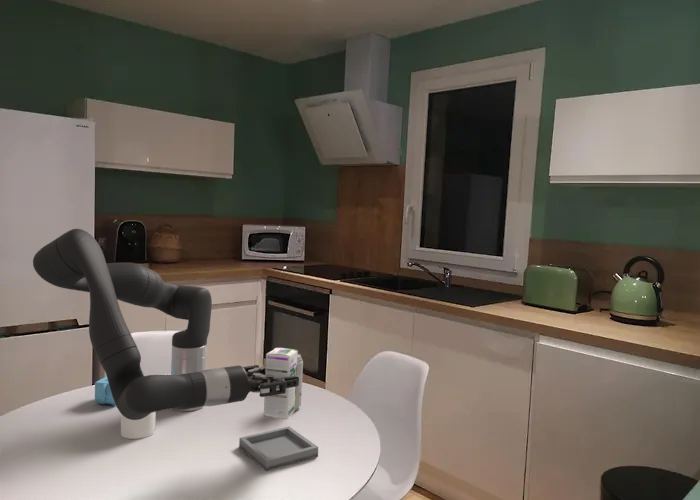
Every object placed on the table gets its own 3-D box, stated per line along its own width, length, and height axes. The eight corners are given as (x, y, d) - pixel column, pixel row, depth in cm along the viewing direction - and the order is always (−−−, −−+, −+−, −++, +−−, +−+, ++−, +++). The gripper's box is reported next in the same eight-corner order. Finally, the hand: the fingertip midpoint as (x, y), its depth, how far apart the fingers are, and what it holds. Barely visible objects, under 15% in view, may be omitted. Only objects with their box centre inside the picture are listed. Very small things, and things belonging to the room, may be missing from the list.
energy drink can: (304, 409, 146) (307, 357, 145) (285, 413, 143) (287, 359, 142) (294, 402, 151) (296, 351, 150) (275, 405, 148) (278, 353, 147)
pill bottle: (162, 430, 128) (163, 386, 127) (137, 441, 121) (138, 395, 120) (138, 423, 131) (140, 380, 131) (113, 434, 124) (114, 389, 124)
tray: (239, 446, 121) (239, 437, 121) (288, 434, 129) (289, 426, 129) (265, 471, 111) (266, 461, 111) (317, 456, 119) (318, 447, 119)
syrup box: (287, 419, 116) (291, 355, 115) (262, 416, 117) (266, 352, 116) (295, 410, 121) (299, 349, 120) (271, 407, 123) (274, 346, 122)
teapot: (116, 392, 152) (116, 367, 151) (136, 394, 151) (136, 369, 150) (91, 407, 140) (91, 380, 139) (112, 409, 139) (113, 382, 139)
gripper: (236, 378, 104) (306, 367, 114) (209, 359, 116) (274, 352, 125) (234, 414, 105) (304, 401, 114) (207, 393, 116) (273, 382, 126)
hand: (288, 375), depth 120 cm, fingers closed on syrup box, 8 cm apart
